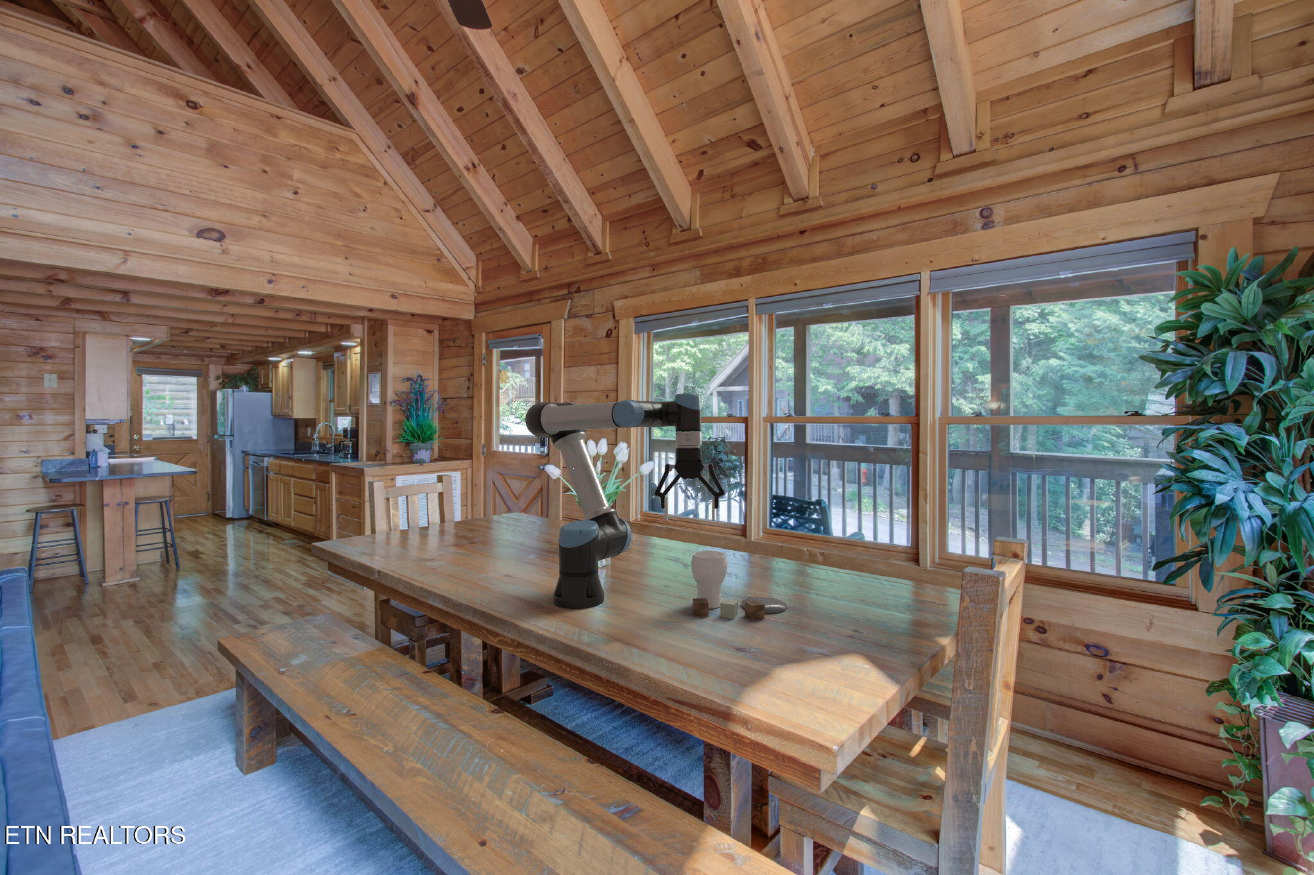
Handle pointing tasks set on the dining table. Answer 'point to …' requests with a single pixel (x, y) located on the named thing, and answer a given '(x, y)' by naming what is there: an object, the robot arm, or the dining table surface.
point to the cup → (709, 575)
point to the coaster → (769, 604)
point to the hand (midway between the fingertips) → (689, 520)
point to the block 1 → (700, 607)
